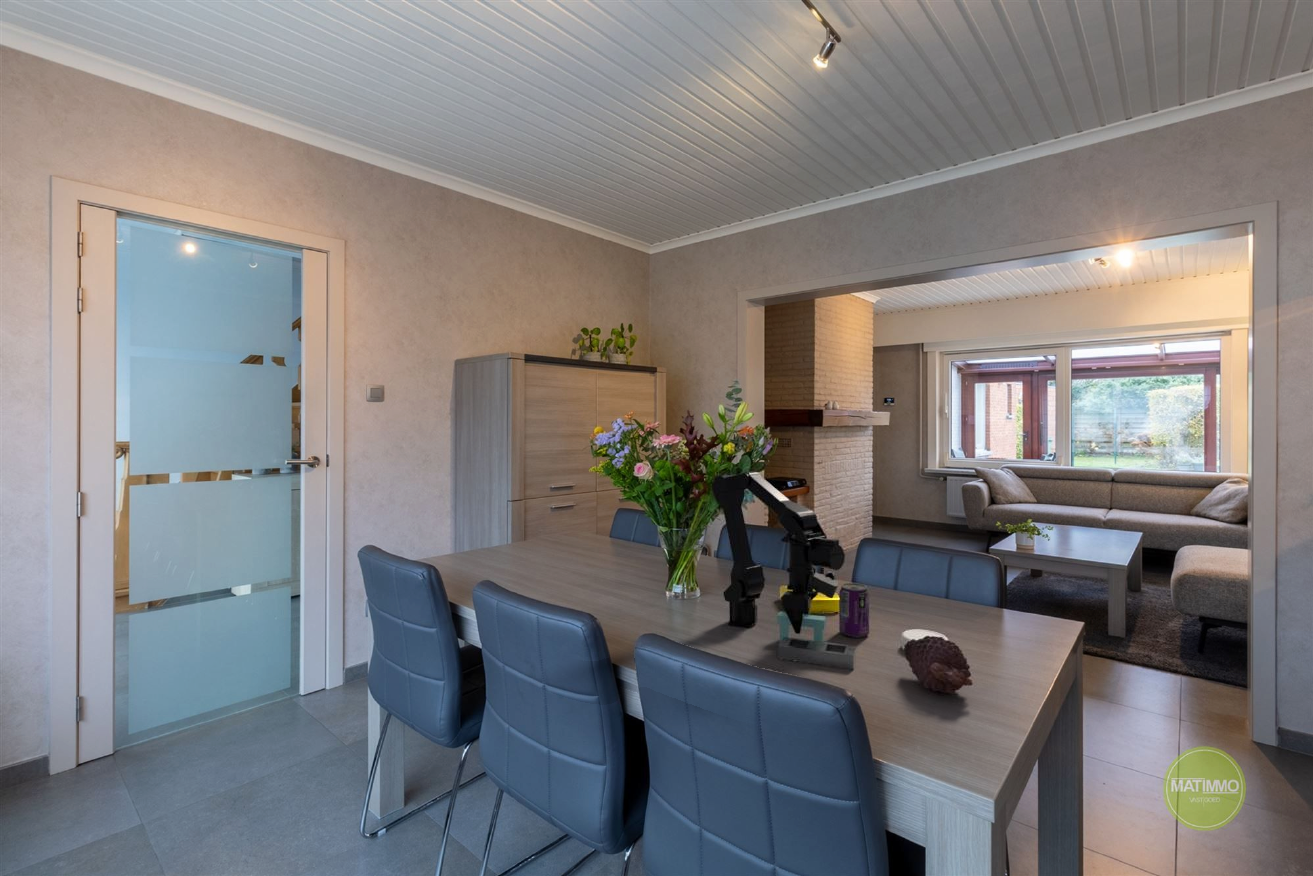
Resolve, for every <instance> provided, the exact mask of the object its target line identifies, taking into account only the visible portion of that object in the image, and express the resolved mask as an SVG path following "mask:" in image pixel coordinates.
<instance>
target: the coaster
mask: <svg viewBox="0 0 1313 876" xmlns="http://www.w3.org/2000/svg"><path fill="white" fill-rule="evenodd" d="M925 636H930V637H931V636H934V637H942V638H943V639H945V640H949V638H948V637H946V636H945V634H943V633H940V632H936V631H933V630H929V629H928V630H927V629H917V628H916V629H907V630H905V631H903V632H902V633H901V635H900V637H901V641H900V642H901V644H900V647H901V648H902V649H901V650H903V651H904V648H905V647H904V646H905V644H907V642H908V641H911V640H912V639H915V640H918V639H923V638H924V637H925Z"/></svg>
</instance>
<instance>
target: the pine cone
mask: <svg viewBox="0 0 1313 876" xmlns="http://www.w3.org/2000/svg"><path fill="white" fill-rule="evenodd" d="M904 647H905V648H904V650H903V651H904V653H905V660H906V661H907V662H908V666H909V667H910V668H911V669H912V670H911V672H912V674H913V675H915V676H916V679H917V681H918V682H919V683H921V684H923V685H924V687H925V688H926V689H932V690H933V691H934V692H940V693H945V694H946V693H947V694H952V695H953V693H956V691H959V690H960V689H962V688H963V687H964V686H965V687H966V686H969V687H970V686H973V684H974V683H973V680H972V679H970V677H971V676H972V673H971V671H970V670H969V669H970V668H971V666H970V665H969V664H968V660H967V658H966V657H965V656H964V653H963V650H961V648H960V646H959V645H957V644H956V643H955V642H953V641H951V640H949V639H948V640H945V639H943V638H942V637H934V636H931V637H930V636H925V637H924V638H923V639H918V640H915V639H912V640H911V641H908V642H907V644H905V646H904Z"/></svg>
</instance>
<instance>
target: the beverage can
mask: <svg viewBox="0 0 1313 876" xmlns="http://www.w3.org/2000/svg"><path fill="white" fill-rule="evenodd" d="M838 596H839V613H838V617H839V618H838V621H839V622H838V623H839V624H838V625H839V627H838V628H839V629H838V630H839V632H840V633H842V634H843V635H845V636H847V635H848V636H847V637H849V636H852V637H851V638H863V637H865V636H867V635H869V634H870V594H869V591H868V586H867V585H865V584H862V583H856V582H845V583H841V585H840V590H839V592H838Z"/></svg>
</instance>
